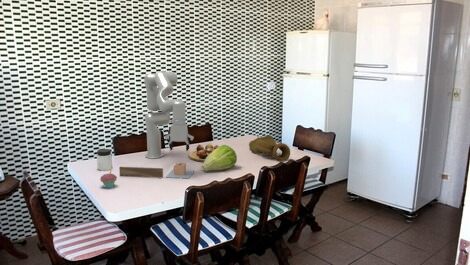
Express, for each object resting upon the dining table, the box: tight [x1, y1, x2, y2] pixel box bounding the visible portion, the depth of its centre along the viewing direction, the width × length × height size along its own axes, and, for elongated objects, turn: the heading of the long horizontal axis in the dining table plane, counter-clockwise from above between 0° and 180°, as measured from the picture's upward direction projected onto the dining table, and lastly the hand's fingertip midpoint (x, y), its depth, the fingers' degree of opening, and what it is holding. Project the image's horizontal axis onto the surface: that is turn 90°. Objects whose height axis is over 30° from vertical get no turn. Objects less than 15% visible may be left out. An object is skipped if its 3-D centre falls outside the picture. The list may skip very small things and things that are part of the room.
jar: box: [96, 148, 113, 171], centre depth 238 cm, size 9×8×12 cm
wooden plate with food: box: [188, 143, 219, 163], centre depth 270 cm, size 32×32×8 cm
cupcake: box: [100, 165, 118, 189], centre depth 206 cm, size 9×8×12 cm
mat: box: [165, 169, 195, 180], centre depth 229 cm, size 14×14×1 cm
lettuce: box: [201, 144, 238, 171], centre depth 241 cm, size 15×24×16 cm
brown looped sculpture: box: [248, 134, 291, 162], centre depth 272 cm, size 23×16×28 cm
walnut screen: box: [119, 166, 164, 179], centre depth 224 cm, size 2×26×6 cm, turn 85°
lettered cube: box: [173, 162, 187, 176], centre depth 228 cm, size 6×6×6 cm
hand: (179, 150), depth 226 cm, fingers open, 9 cm apart
